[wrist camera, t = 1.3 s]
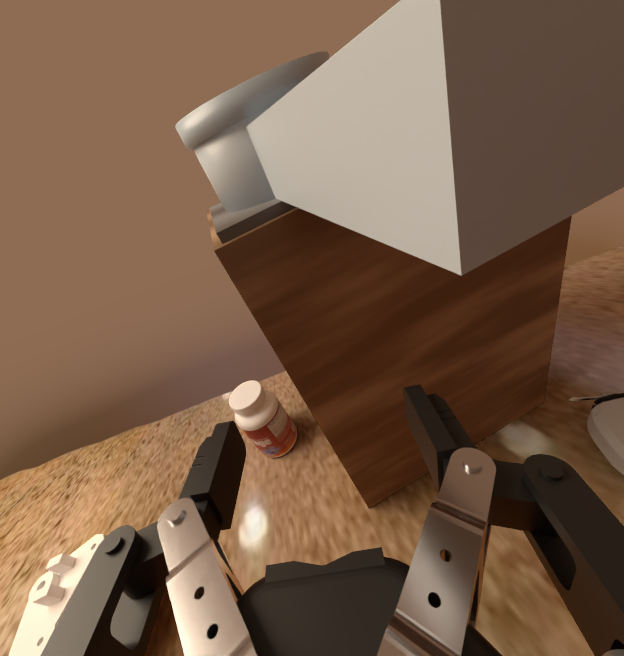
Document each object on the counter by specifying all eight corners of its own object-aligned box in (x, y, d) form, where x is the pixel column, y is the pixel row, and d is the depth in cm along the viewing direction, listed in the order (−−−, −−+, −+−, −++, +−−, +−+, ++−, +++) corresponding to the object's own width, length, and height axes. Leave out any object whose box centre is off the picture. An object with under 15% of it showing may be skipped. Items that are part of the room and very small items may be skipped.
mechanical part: (118, 552, 39) (42, 519, 33) (190, 552, 36) (121, 514, 29) (52, 683, 31) (-70, 673, 24) (139, 700, 27) (24, 693, 21)
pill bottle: (253, 451, 44) (214, 407, 38) (276, 417, 48) (243, 372, 41) (283, 465, 40) (245, 420, 34) (306, 428, 44) (274, 380, 38)
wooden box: (319, 409, 46) (202, 204, 28) (447, 336, 48) (417, 100, 29) (369, 508, 32) (207, 239, 14) (543, 402, 34) (596, 47, 16)
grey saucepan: (217, 204, 23) (179, 134, 21) (321, 154, 24) (299, 80, 21) (297, 365, 5) (-19, -201, 2) (760, 111, 5) (1052, -558, 3)
